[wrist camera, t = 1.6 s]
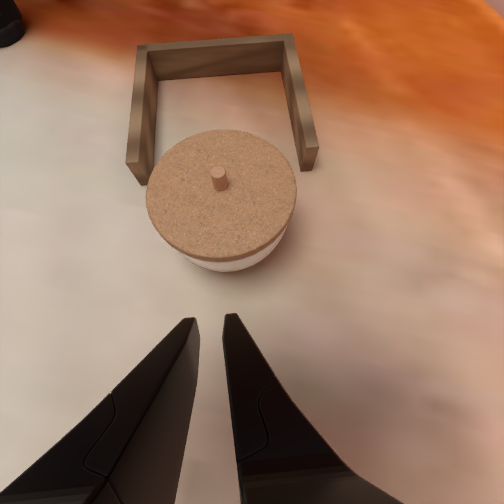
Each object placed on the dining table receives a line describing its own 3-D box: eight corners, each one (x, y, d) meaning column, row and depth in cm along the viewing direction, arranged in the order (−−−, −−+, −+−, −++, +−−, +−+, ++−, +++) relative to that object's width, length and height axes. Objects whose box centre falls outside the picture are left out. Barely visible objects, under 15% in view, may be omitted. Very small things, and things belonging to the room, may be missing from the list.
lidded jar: (202, 175, 28) (178, 95, 19) (298, 203, 26) (319, 131, 18) (157, 264, 24) (102, 216, 16) (265, 302, 23) (270, 273, 14)
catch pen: (311, 170, 28) (319, 146, 25) (140, 185, 28) (125, 163, 24) (288, 63, 34) (292, 33, 31) (148, 74, 34) (137, 45, 30)
